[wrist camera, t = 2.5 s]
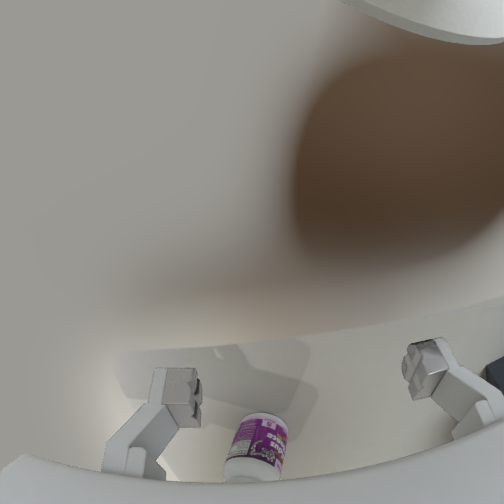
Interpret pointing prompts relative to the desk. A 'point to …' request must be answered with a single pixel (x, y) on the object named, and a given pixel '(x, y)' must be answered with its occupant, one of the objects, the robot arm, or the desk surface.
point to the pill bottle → (257, 450)
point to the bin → (496, 374)
